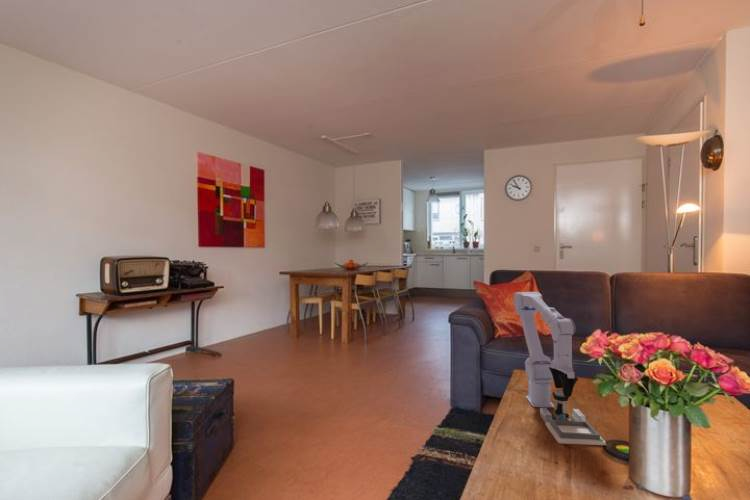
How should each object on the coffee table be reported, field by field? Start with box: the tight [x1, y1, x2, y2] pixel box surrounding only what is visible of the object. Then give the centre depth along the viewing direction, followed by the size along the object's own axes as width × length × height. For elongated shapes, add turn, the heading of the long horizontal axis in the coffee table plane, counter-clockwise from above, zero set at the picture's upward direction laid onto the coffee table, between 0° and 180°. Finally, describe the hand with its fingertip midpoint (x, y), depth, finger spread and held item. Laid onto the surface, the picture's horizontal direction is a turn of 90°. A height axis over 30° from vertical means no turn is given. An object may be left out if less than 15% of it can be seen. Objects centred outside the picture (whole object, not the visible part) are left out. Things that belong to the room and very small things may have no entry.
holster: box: [539, 407, 586, 424], centre depth 135 cm, size 6×13×3 cm, turn 84°
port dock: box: [545, 419, 607, 446], centre depth 125 cm, size 12×14×2 cm
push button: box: [551, 389, 571, 420], centre depth 135 cm, size 7×5×10 cm
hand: (562, 391), depth 134 cm, fingers open, 7 cm apart
